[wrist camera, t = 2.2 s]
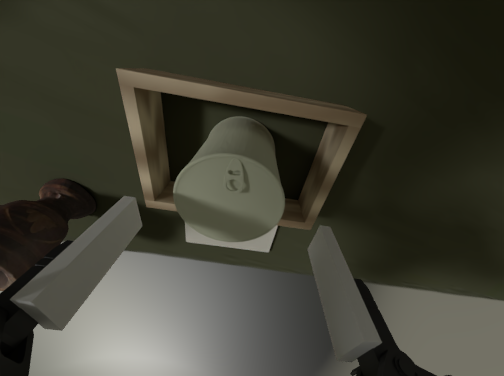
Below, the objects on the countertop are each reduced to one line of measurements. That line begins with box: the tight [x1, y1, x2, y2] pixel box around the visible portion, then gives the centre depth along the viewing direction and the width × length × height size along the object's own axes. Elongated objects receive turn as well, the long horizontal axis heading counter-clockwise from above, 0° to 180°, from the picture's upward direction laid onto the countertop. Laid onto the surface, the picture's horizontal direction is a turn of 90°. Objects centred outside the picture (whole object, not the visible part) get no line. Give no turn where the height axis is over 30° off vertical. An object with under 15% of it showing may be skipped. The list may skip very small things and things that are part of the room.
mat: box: [185, 222, 278, 252], centre depth 32 cm, size 11×16×1 cm
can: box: [173, 116, 285, 242], centre depth 19 cm, size 9×9×12 cm
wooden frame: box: [116, 68, 367, 230], centre depth 22 cm, size 15×22×5 cm
